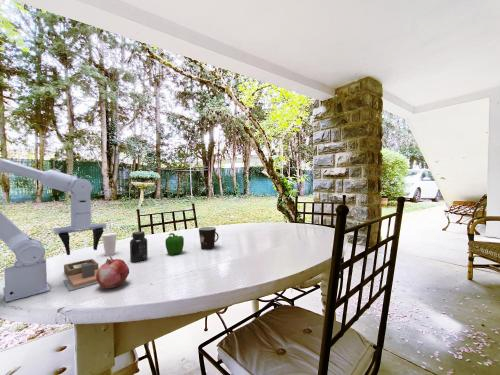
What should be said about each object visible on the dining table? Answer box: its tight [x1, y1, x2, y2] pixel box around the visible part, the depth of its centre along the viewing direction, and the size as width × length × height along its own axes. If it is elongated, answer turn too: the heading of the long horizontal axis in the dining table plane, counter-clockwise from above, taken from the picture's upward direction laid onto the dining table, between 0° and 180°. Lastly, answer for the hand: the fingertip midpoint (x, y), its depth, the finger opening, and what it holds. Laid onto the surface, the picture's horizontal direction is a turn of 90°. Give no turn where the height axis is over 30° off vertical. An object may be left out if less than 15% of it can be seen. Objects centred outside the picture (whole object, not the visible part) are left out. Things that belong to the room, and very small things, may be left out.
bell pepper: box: [164, 232, 185, 256], centre depth 108 cm, size 8×8×10 cm
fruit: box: [96, 255, 130, 289], centre depth 74 cm, size 9×10×10 cm
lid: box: [67, 262, 98, 288], centre depth 79 cm, size 10×10×5 cm
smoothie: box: [101, 224, 118, 257], centre depth 108 cm, size 6×6×14 cm
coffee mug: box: [198, 226, 220, 251], centre depth 115 cm, size 12×9×10 cm
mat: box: [63, 278, 99, 292], centre depth 79 cm, size 12×11×1 cm
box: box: [63, 258, 100, 279], centre depth 86 cm, size 9×9×3 cm
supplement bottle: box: [129, 231, 149, 264], centre depth 99 cm, size 7×7×12 cm
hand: (82, 251), depth 80 cm, fingers open, 7 cm apart
